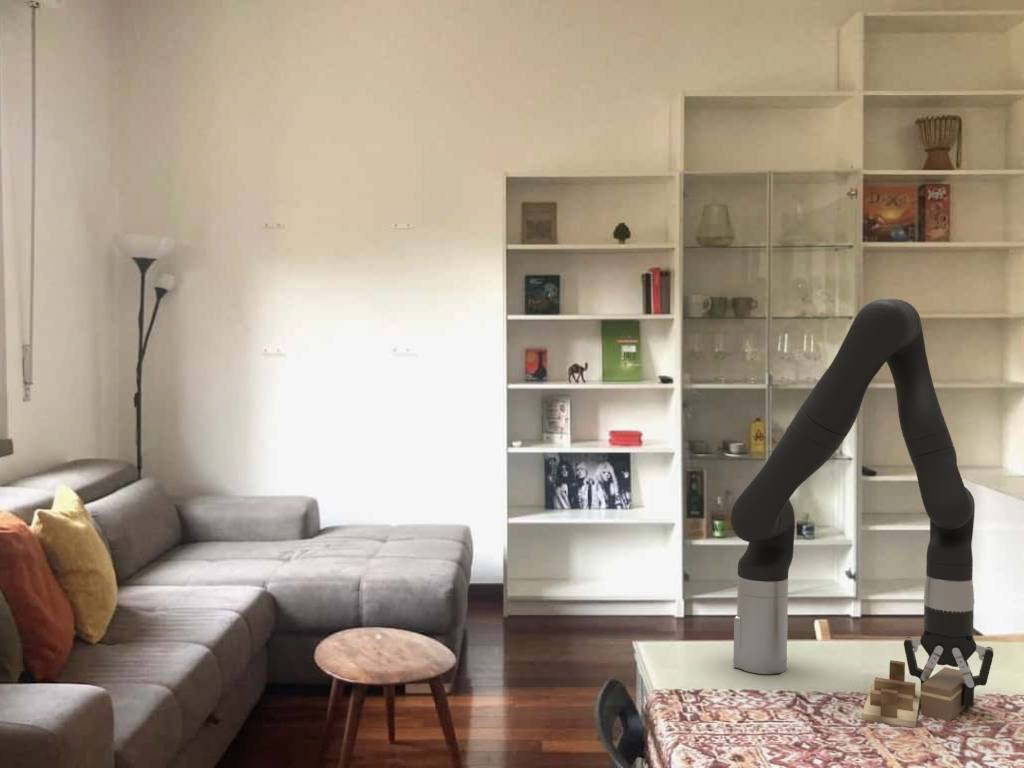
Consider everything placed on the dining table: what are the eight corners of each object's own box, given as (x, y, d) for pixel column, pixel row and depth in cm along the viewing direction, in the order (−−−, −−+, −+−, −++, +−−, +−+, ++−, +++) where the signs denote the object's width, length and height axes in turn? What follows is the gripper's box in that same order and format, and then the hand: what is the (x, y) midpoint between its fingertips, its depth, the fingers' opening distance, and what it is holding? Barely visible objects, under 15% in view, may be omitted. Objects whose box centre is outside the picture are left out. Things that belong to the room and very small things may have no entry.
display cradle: (861, 719, 156) (862, 688, 156) (872, 685, 173) (873, 657, 172) (915, 727, 153) (916, 696, 153) (921, 692, 169) (922, 664, 169)
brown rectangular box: (920, 714, 159) (921, 684, 159) (944, 695, 168) (944, 666, 168) (949, 721, 156) (950, 690, 156) (972, 702, 165) (972, 672, 165)
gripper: (900, 604, 161) (899, 705, 162) (997, 614, 155) (995, 719, 155) (903, 594, 168) (902, 691, 168) (996, 603, 162) (995, 704, 162)
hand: (947, 704), depth 162 cm, fingers closed on brown rectangular box, 5 cm apart
